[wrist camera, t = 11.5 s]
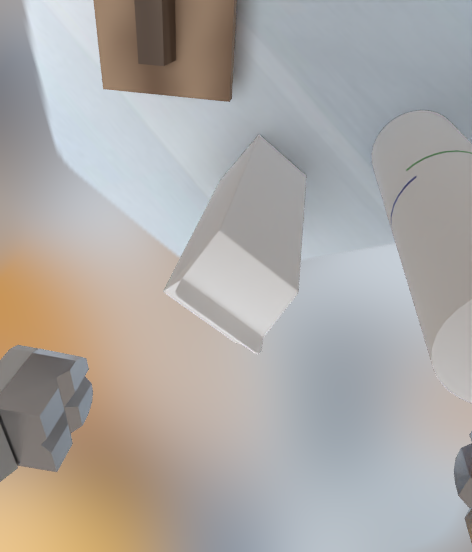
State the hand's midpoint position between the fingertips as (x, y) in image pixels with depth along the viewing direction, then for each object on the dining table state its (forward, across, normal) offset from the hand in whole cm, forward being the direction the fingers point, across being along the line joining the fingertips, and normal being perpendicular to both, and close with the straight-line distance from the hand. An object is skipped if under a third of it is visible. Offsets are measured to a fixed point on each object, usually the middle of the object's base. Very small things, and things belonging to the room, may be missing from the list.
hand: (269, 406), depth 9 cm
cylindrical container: (+33, -10, +4) cm, 35 cm away
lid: (+29, +11, -5) cm, 31 cm away
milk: (+33, +3, +8) cm, 34 cm away
